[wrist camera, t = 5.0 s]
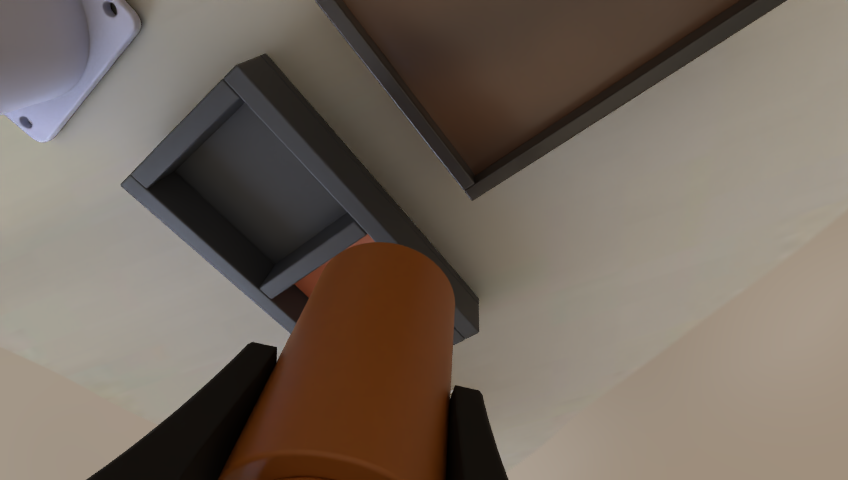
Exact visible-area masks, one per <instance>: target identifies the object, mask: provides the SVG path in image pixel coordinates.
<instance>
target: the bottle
mask: <svg viewBox="0 0 848 480" xmlns="http://www.w3.org/2000/svg"><path fill="white" fill-rule="evenodd" d="M454 315H455V297H454V293H453V289H452V286H451V284H450V282H449V280H448V278H447V277H446V275H445V274H444V273H443V271H442V270H441V269H440V268H439V267H438V266H437V265H436V264H435V263H434V262H433V261H432V260H431V259H429V258H428V257H427V256H425V255H423V254H422V253H420V252H418V251H416V250H414V249H411V248H409V247H406V246H403V245H399V244H394V243H386V242H371V243H364V244H360V245H356V246H353V247H351V248H348V249H346V250H344V251H342V252H341V253H339V254H338V255H336V256H335V257H334V258H333V259H331V261H330V262H329V263H328V264H327V265H326V267H325V268H324V270H323V272H322V273H321V275H320V277H319V279H318V281H317V283H316V285H315V287H314V289H313V291H312V293H311V295H310V297H309V299H308V301H307V303H306V305H305V307H304V309H303V311H302V313H301V315H300V317H299V319H298V321H297V323H296V325H295V327H294V329H293V331H292V333H291V335H290V337H289V339H288V341H287V343H286V345H285V347H284V349H283V351H282V353H281V355H280V357H279V359H278V361H277V363H276V365H275V367H274V369H273V371H272V373H271V375H270V377H269V379H268V381H267V383H266V385H265V387H264V389H263V391H262V392H261V394H260V396H259V398H258V400H257V402H256V404H255V406H254V408H253V410H252V412H251V414H250V416H249V418H248V420H247V422H246V424H245V426H244V428H243V430H242V432H241V434H240V436H239V438H238V440H237V442H236V444H235V446H234V448H233V450H232V452H231V454H230V456H229V458H228V460H227V462H226V464H225V466H224V468H223V470H222V472H221V474H220V476H219V478H218V480H446V467H447V448H448V429H449V410H450V391H451V372H452V353H453V334H454Z"/></svg>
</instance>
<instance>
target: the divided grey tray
mask: <svg viewBox="0 0 848 480" xmlns="http://www.w3.org/2000/svg"><path fill="white" fill-rule="evenodd" d="M121 186H122V187H123V188H124V189H125V190H126V191H127V192H128V193H130V194H131V195H132V196H133V197H134V198H135V199H136V200H138V201H139V202H140V203H141V204H142V205H143V206H144V207H146V208H147V209H148V210H149V211H150V212H151V213H153V214H154V215H155V216H156V217H157V218H158V219H159V220H161V221H162V222H163V223H164V224H165V225H166V226H167V227H169V228H170V229H171V230H172V231H173V232H174V233H175V234H177V235H178V236H179V237H180V238H181V239H182V240H184V241H185V242H186V243H187V244H188V245H189V246H190V247H192V248H193V249H194V250H195V251H196V252H197V253H198V254H200V255H201V256H202V257H203V258H204V259H205V260H206V261H208V262H209V263H210V264H211V265H212V266H213V267H215V268H216V269H217V270H218V271H219V272H220V273H221V274H223V275H224V276H225V277H226V278H227V279H228V280H229V281H231V282H232V283H233V284H234V285H235V286H236V287H237V288H239V289H240V290H241V291H242V292H243V293H244V294H245V295H247V296H248V297H249V298H250V299H251V300H252V301H254V302H255V303H256V304H257V305H258V306H259V307H260V308H262V309H263V310H264V311H265V312H266V313H267V314H268V315H270V316H271V317H272V318H273V319H274V320H275V321H276V322H278V323H279V324H280V325H281V326H282V327H283V328H285V329H286V330H287V331H288V332H289V333H290V334H291V333H292V331H293V329H294V327H295V325H296V323H297V321H298V319H299V317H300V315H301V313H302V311H303V309H304V307H305V305H306V303H307V301H308V299H309V297H310V295H311V293H312V291H313V289H314V287H315V285H316V283H317V281H318V279H319V277H320V275H321V273H322V272H323V270H324V268H325V267H326V265H327V264H328V263H329V262H330V261H331V259H333V258H334V257H335V256H336V255H338V254H339V253H341V252H342V251H344V250H346V249H348V248H351V247H353V246H356V245H360V244H364V243H371V242H386V243H394V244H399V245H403V246H406V247H409V248H411V249H414V250H416V251H418V252H420V253H422V254H423V255H425V256H427V257H428V258H429V259H431V260H432V261H433V262H434V263H435V264H436V265H437V266H438V267H439V268H440V269H441V270H442V271H443V273H444V274H445V275H446V277H447V278H448V280H449V282H450V284H451V286H452V289H453V293H454V297H455V315H454V334H453V345H455V344H457V343H459V342H461V341H463V340H465V339H466V338H469V337H471V336H473V335H475V334H477V333H478V332H479V305H478V304H479V298H478V297H477V296H476V295H475V294H474V292H473V291H472V290H471V289H470V288H469V287H468V286H467V284H466V283H465V282H464V281H463V280H462V279H461V277H460V276H459V275H458V274H457V273H456V272H455V271H454V269H453V268H452V267H451V266H450V265H449V264H448V263H447V261H446V260H445V259H444V258H443V257H442V256H441V254H440V253H439V252H438V251H437V250H436V249H435V248H434V246H433V245H432V244H431V243H430V242H429V241H428V240H427V238H426V237H425V236H424V235H423V234H422V233H421V231H420V230H419V229H418V228H417V227H416V226H415V225H414V223H413V222H412V221H411V220H410V219H409V218H408V217H407V215H406V214H405V213H404V212H403V211H402V210H401V208H400V207H399V206H398V205H397V204H396V203H395V202H394V200H393V199H392V198H391V197H390V196H389V195H388V194H387V192H386V191H385V190H384V189H383V188H382V187H381V185H380V184H379V183H378V182H377V181H376V180H375V179H374V177H373V176H372V175H371V174H370V173H369V172H368V171H367V169H366V168H365V167H364V166H363V165H362V164H361V162H360V161H359V160H358V159H357V158H356V157H355V156H354V154H353V153H352V152H351V151H350V150H349V149H348V148H347V146H346V145H345V144H344V143H343V142H342V141H341V139H340V138H339V137H338V136H337V135H336V134H335V133H334V131H333V130H332V129H331V128H330V127H329V126H328V124H327V123H326V122H325V121H324V120H323V119H322V118H321V116H320V115H319V114H318V113H317V112H316V111H315V110H314V108H313V107H312V106H311V105H310V104H309V103H308V101H307V100H306V99H305V98H304V97H303V96H302V95H301V93H300V92H299V91H298V90H297V89H296V88H295V87H294V85H293V84H292V83H291V82H290V81H289V80H288V78H287V77H286V76H285V75H284V74H283V73H282V72H281V70H280V69H279V68H278V67H277V66H276V65H275V64H274V62H273V61H272V60H271V59H270V58H269V57H268V55H267V54H263V55H260V56H258V57H256V58H253V59H250V60H248V61H245V62H243V63H240V64H237V65H236V66H235V67H234V68H233V69H232V70H231V71H230V72H229V73H228V74H227V75H226V76H225V77H224V79H222V80H221V81H220V82H219V83H218V84H217V85H216V86H215V87H214V88H213V89H212V90H211V91H210V92H209V93H208V94H207V95H206V96H205V97H204V99H203V100H202V101H201V102H200V103H199V104H198V105H197V106H196V107H195V108H194V109H193V110H192V111H191V112H190V113H189V114H188V115H187V116H186V117H185V118H184V119H183V120H182V121H181V122H180V123H179V124H178V125H177V126H176V127H175V128H174V130H173V131H172V132H171V133H170V134H169V135H168V136H167V137H166V138H165V139H164V140H163V141H162V142H161V143H160V144H159V145H158V146H157V147H156V148H155V149H154V150H153V151H152V152H151V153H150V154H149V155H148V156H147V157H146V158H145V160H144V161H143V162H142V163H141V164H140V165H139V166H138V167H137V168H136V169H135V170H134V171H133V172H132V173H131V174H130V175H129V176H128V177H127V178H126V179H125V180H124V181H123V182H122V183H121Z"/></svg>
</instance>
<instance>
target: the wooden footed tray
mask: <svg viewBox="0 0 848 480" xmlns="http://www.w3.org/2000/svg"><path fill="white" fill-rule="evenodd" d="M315 1H316V3H317V4H318V5H319V7H320V8H321V9H322V10H323V12H324V13H325V14H326V15H327V17H328V18H329V19H330V21H331V22H332V23H333V24H334V26H335V27H336V28H337V29H338V31H339V32H340V33H341V35H342V36H343V37H344V38H345V40H346V41H347V42H348V44H349V45H350V46H351V47H352V49H353V50H354V51H355V52H356V54H357V55H358V56H359V58H360V59H361V60H362V61H363V63H364V64H365V65H366V66H367V68H368V69H369V70H370V72H371V73H372V74H373V75H374V77H375V78H376V79H377V80H378V82H379V83H380V84H381V86H382V87H383V88H384V89H385V91H386V92H387V93H388V94H389V96H390V97H391V98H392V100H393V101H394V102H395V103H396V105H397V106H398V107H399V109H400V110H401V111H402V112H403V114H404V115H405V116H406V117H407V119H408V120H409V121H410V123H411V124H412V125H413V126H414V128H415V129H416V130H417V131H418V133H419V134H420V135H421V137H422V138H423V139H424V140H425V142H426V143H427V144H428V145H429V147H430V148H431V149H432V151H433V152H434V153H435V154H436V156H437V157H438V158H439V160H440V161H441V162H442V163H443V165H444V166H445V167H446V168H447V170H448V171H449V172H450V174H451V175H452V176H453V177H454V179H455V180H456V181H457V182H458V184H459V185H460V186H461V188H462V189H463V190H465V193H466V194H467V195H468V196H469V198H470V199H471V200H472V201H473V200H475V199H476V198H478V197H479V196H481V195H482V194H484V193H486V192H487V191H489V190H490V189H492V188H493V187H495V186H497V185H498V184H500V183H501V182H503V181H504V180H506V179H507V178H509V177H511V176H512V175H514V174H515V173H517V172H518V171H520V170H522V169H523V168H525V167H526V166H528V165H529V164H531V163H533V162H534V161H536V160H537V159H539V158H540V157H542V156H544V155H545V154H547V153H548V152H550V151H551V150H553V149H555V148H556V147H558V146H559V145H561V144H562V143H564V142H566V141H567V140H569V139H570V138H572V137H573V136H575V135H576V134H578V133H580V132H581V131H583V130H584V129H586V128H587V127H589V126H591V125H592V124H594V123H595V122H597V121H598V120H600V119H602V118H603V117H605V116H606V115H608V114H609V113H611V112H613V111H614V110H616V109H617V108H619V107H620V106H622V105H624V104H625V103H627V102H628V101H630V100H631V99H633V98H635V97H636V96H638V95H639V94H641V93H642V92H644V91H645V90H647V89H649V88H650V87H652V86H653V85H655V84H656V83H658V82H660V81H661V80H663V79H664V78H666V77H667V76H669V75H671V74H672V73H674V72H675V71H677V70H678V69H680V68H682V67H683V66H685V65H686V64H688V63H689V62H691V61H693V60H694V59H696V58H697V57H699V56H700V55H702V54H704V53H705V52H707V51H708V50H710V49H711V48H713V47H714V46H716V45H718V44H719V43H721V42H722V41H724V40H725V39H727V38H729V37H730V36H732V35H733V34H735V33H736V32H738V31H740V30H741V29H743V28H744V27H746V26H747V25H749V24H751V23H752V22H754V21H755V20H757V19H758V18H760V17H762V16H763V15H765V14H766V13H768V12H769V11H771V10H773V9H774V8H776V7H777V6H779V5H780V4H782V3H783V2H785V1H787V0H315Z"/></svg>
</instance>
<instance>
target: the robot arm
mask: <svg viewBox="0 0 848 480" xmlns="http://www.w3.org/2000/svg"><path fill="white" fill-rule="evenodd" d="M111 2H112V3H113V4H114V5H115V7H116V8H117V15H115V14H114V13H113V12H112V10H111V7H110V4H111ZM140 29H141V21H140V18H139V16H138V15H137V13H136V12H135V11H134V10H133V8H132V7H131V6H130V5H129V4H128V3H127V2H126V1H125V0H0V115H1V114H4V115H6V116H7V117H8V118H9V119H10V120H11V121H13V122H14V123H15V124H16V125H17V126H19V127H20V128H21V129H22V130H23V131H24V132H26V133H27V134H28V135H29V136H30V137H32V138H33V139H35V140H36V141H38V142H47V141H50V140H52V139H53V138H54V137H55V136H56V135H57V134H58V132H59V131H60V130H61V129H62V127H63V126H64V125H65V124H66V122H67V121H68V120H69V119H70V117H71V116H72V115H73V114H74V112H75V111H76V110H77V109H78V107H79V106H80V105H81V104H82V102H83V101H84V100H85V99H86V97H87V96H88V95H89V94H90V92H91V91H92V90H93V89H94V87H95V86H96V85H97V84H98V82H99V81H100V80H101V79H102V77H103V76H104V75H105V74H106V72H107V71H108V70H109V69H110V67H111V66H112V65H113V64H114V62H115V61H116V60H117V59H118V57H119V56H120V55H121V54H122V52H123V51H124V50H125V49H126V47H127V46H128V45H129V44H130V43H131V41H132V40H133V39H134V38H135V36H136V35H137V34H138V33H139V31H140ZM28 119H29V120H30V121H31V123H32V124H31V123H30V122H29V121H28ZM276 360H277V347H273V346H268V345H264V344H259V343H254V342H251V343H250V344H248V345H247V346H246V347H245V348H244V349H243V350H242V351H241V352H240V353H239V354H238V355H237V356H236V357H235V358H234V359H233V360H232V361H231V362H230V363H228V364H227V365H226V366H225V367H224V368H223V369H222V370H221V371H220V372H219V373H218V374H217V375H216V376H215V377H214V378H213V379H211V380H210V381H209V382H208V383H207V384H206V385H205V386H204V387H203V388H202V389H200V390H199V391H198V392H197V393H196V394H195V395H194V396H192V397H191V398H190V399H189V400H188V401H187V402H186V403H184V404H183V405H182V406H181V407H180V408H179V409H178V410H176V411H175V412H174V413H173V414H172V415H170V416H169V417H168V418H167V419H166V420H164V421H163V422H162V423H161V424H159V425H158V426H157V427H156V428H154V429H153V430H152V431H151V432H149V433H148V434H147V435H146V436H144V437H143V438H142V439H141V440H139V441H138V442H137V443H136V444H134V445H133V446H132V447H131V448H129V449H128V450H127V451H125V452H124V453H123V454H121V455H120V456H119V457H117V458H116V459H115V460H113V461H112V462H110V463H109V464H108V465H106V466H105V467H104V468H103V469H101V470H100V471H98V472H97V473H95V474H94V475H92V476H91V477H90V478H88V479H87V480H218V478H219V476H220V474H221V472H222V470H223V468H224V466H225V464H226V462H227V460H228V458H229V456H230V454H231V452H232V450H233V448H234V446H235V444H236V442H237V440H238V438H239V436H240V434H241V432H242V430H243V428H244V426H245V424H246V422H247V420H248V418H249V416H250V414H251V412H252V410H253V408H254V406H255V404H256V402H257V400H258V398H259V396H260V394H261V392H262V391H263V389H264V387H265V385H266V383H267V381H268V379H269V377H270V375H271V373H272V371H273V369H274V367H275V365H276ZM446 480H508V478H507V475H506V472H505V469H504V466H503V464H502V461H501V458H500V455H499V452H498V449H497V446H496V443H495V440H494V436H493V433H492V430H491V426H490V423H489V419H488V416H487V412H486V408H485V404H484V400H483V395H482V394H481V392H480V391H479V390H474V389H470V388H465V387H460V386H456V385H455V387H454V390H453V393H452V395H451V398H450V410H449V429H448V448H447V467H446Z"/></svg>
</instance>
